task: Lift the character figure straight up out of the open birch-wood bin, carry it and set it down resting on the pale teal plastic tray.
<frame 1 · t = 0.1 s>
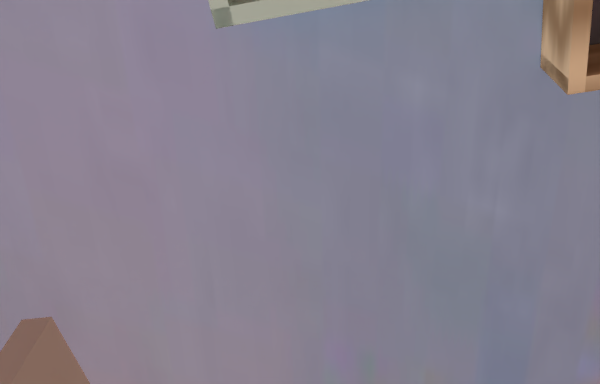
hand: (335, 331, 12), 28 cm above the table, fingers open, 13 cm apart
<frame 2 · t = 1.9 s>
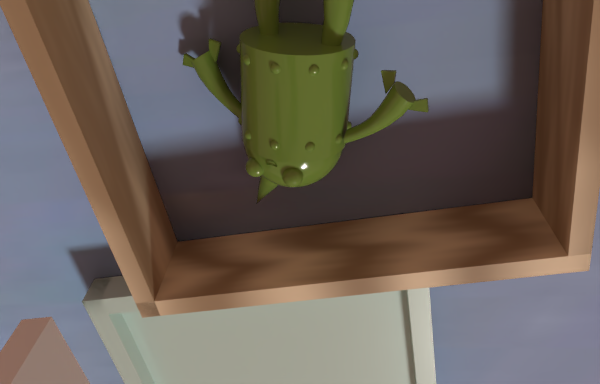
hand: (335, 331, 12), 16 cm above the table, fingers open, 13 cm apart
tray: (283, 373, 37), on the table
bin: (325, 86, 26), on the table
character figure: (298, 81, 26), on the table
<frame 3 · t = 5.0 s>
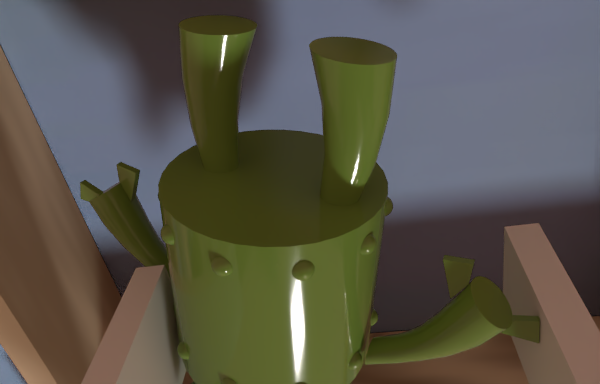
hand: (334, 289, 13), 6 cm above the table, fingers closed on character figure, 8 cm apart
bin: (347, 167, 18), on the table
character figure: (283, 218, 15), point 3 cm above the table, touching gripper
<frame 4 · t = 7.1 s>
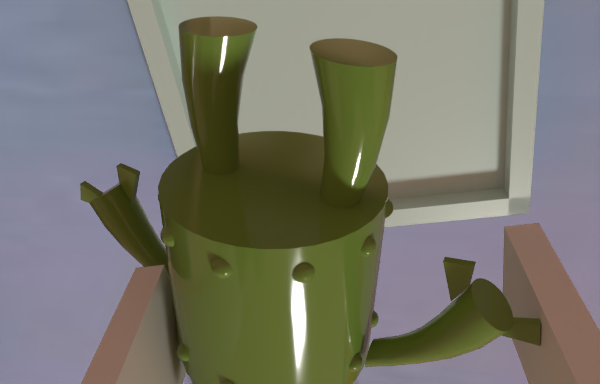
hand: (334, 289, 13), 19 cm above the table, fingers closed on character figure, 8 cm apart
tray: (340, 63, 30), on the table
character figure: (284, 219, 15), point 17 cm above the table, touching gripper
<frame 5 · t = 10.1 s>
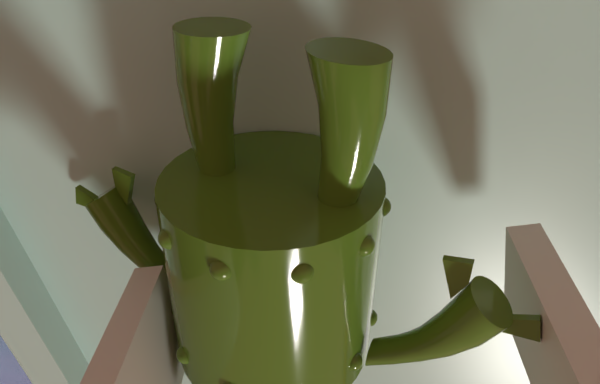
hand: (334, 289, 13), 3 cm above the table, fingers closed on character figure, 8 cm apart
tray: (323, 227, 16), on the table
character figure: (281, 219, 15), point 1 cm above the table, touching gripper, tray
when the fingers open (3 cm above the table, at t = 10.3 s): character figure stays where it is, resting on tray.
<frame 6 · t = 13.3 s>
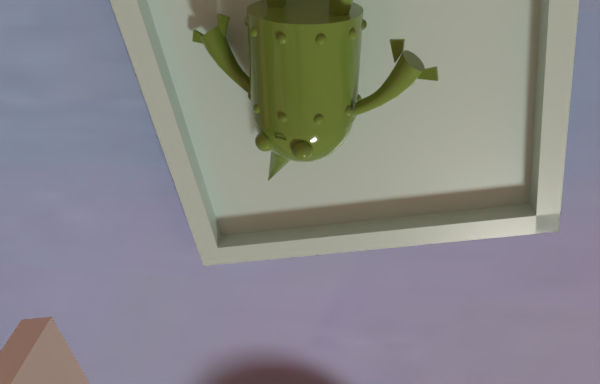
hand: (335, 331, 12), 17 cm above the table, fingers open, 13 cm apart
tray: (348, 68, 27), on the table
character figure: (307, 56, 26), point 1 cm above the table, touching tray
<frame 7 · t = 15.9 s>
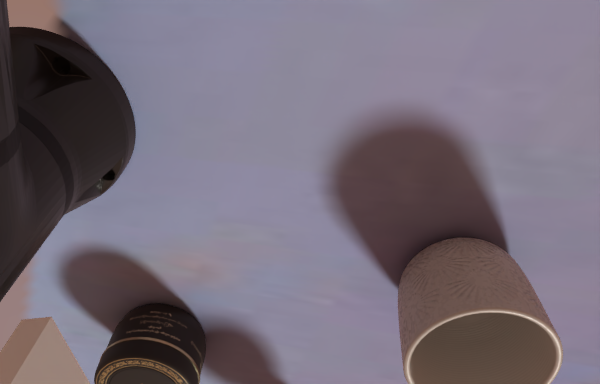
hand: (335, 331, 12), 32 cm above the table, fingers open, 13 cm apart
jar: (164, 330, 58), on the table
planter: (454, 273, 52), on the table
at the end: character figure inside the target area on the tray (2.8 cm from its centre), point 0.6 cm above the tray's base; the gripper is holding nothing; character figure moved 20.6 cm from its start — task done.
